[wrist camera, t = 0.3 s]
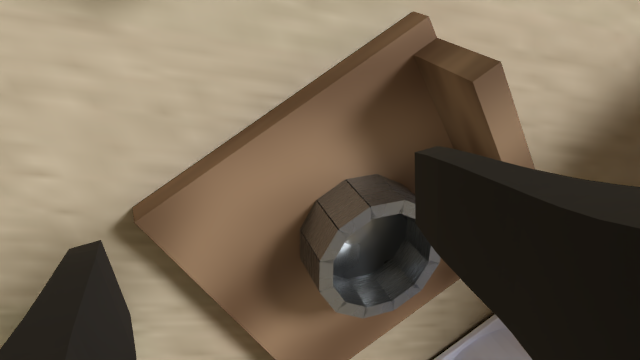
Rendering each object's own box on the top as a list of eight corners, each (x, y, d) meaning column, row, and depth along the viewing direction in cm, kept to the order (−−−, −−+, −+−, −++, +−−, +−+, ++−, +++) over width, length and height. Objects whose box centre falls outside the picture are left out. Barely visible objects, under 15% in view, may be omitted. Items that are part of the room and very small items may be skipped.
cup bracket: (500, 226, 29) (570, 282, 25) (299, 373, 28) (335, 456, 24) (413, 11, 21) (492, 37, 17) (132, 207, 21) (141, 285, 16)
